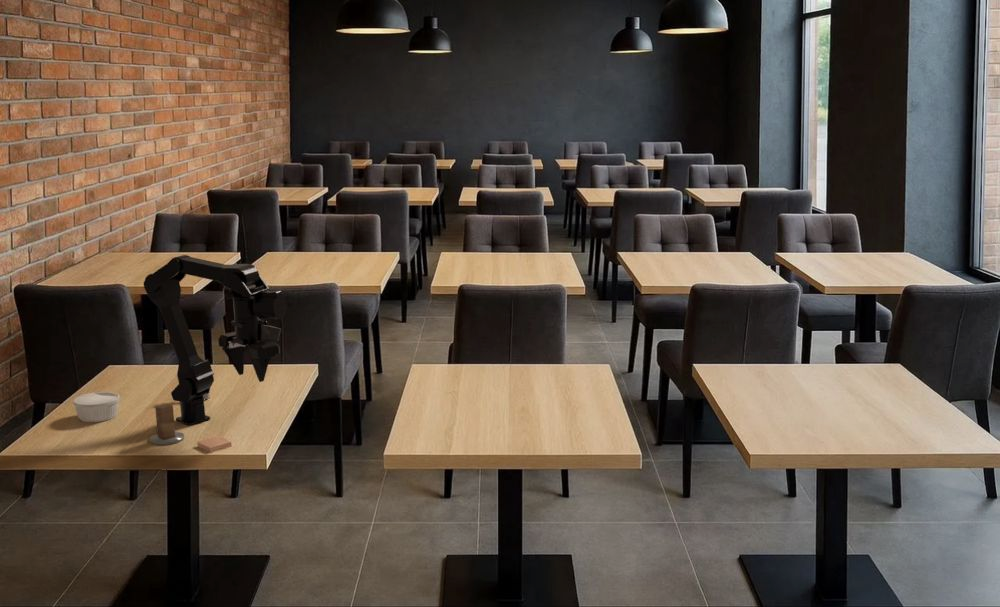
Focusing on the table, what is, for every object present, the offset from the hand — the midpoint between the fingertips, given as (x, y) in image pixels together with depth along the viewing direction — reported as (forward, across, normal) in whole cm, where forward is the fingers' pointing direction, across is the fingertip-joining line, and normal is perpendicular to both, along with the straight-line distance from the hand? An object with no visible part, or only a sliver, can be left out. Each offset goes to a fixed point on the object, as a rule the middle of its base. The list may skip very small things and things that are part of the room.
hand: (251, 377), depth 257 cm
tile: (+13, 0, +13) cm, 19 cm away
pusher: (+12, +9, +19) cm, 24 cm away
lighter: (+13, +33, -2) cm, 36 cm away
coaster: (+13, +9, +19) cm, 25 cm away
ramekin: (+13, +38, +23) cm, 46 cm away
